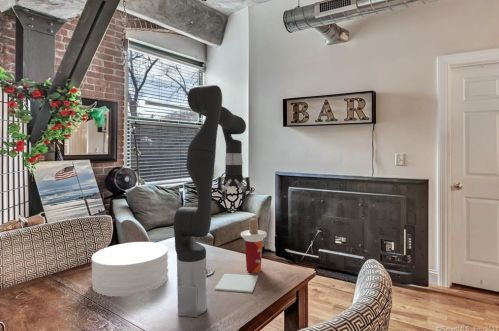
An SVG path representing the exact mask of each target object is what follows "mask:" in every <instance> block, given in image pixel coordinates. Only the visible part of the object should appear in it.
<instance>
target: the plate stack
mask: <svg viewBox="0 0 499 331" xmlns="http://www.w3.org/2000/svg"><path fill="white" fill-rule="evenodd" d="M168 251H169V250H168V246H166V245H164V244H162V243H159V242H153V241H132V242H125V243H120V244H115V245H110V246H107V247H105V248H102V249H99V250H97V251H96V252H94V254H92V256H91V276H92V277H91V282H92V284H91V285H92V290H93V292H95V293H96V292H97V293H96V294H98V293H99V294H98V295H100V294H102V295H101V296H104V295H107V296H106V297H112V296H117V297H116V298H119V297H118V296H120V297H121V298H122V297H128V296H129V297H130V296H136V295H140V294H141V295H142V294H145V293H147V292H151V291H153V290H155V289H157V288H159V287H161V286H163V285H164V284H165V283H166V282H167V281H168V279H169V261H168V260H169V256H168V253H169V252H168Z"/></svg>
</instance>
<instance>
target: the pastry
mask: <svg viewBox="0 0 499 331" xmlns="http://www.w3.org/2000/svg"><path fill="white" fill-rule="evenodd" d="M207 273H208V274H207ZM214 273H215V268H213V267H211V266H209V265H206V277H208V276H211V275H213V274H214Z"/></svg>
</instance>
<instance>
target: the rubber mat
mask: <svg viewBox="0 0 499 331" xmlns="http://www.w3.org/2000/svg"><path fill="white" fill-rule="evenodd" d="M258 278H259V275H253V274H251V275H250V274H236V273H235V274H233V273H224V274H223V276H222V277H221V278H220V279H219V281H218V282H217V284H216V286H215V287H214V291H225V292H237V293H249V294H250V293H251V294H252V293H253V292H254V289H255V287H256V284H257V282H258Z"/></svg>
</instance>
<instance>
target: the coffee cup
mask: <svg viewBox="0 0 499 331" xmlns="http://www.w3.org/2000/svg"><path fill="white" fill-rule="evenodd" d="M243 240H244V250H245V262H246V263H245V264H246V266H245V267H246V272H247V271H248V272H247V273H249V272H250V273H249V274H258V273H261V270H262V260H263V259H262V255H263V240H264V238H262V239H245V238H243Z"/></svg>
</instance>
